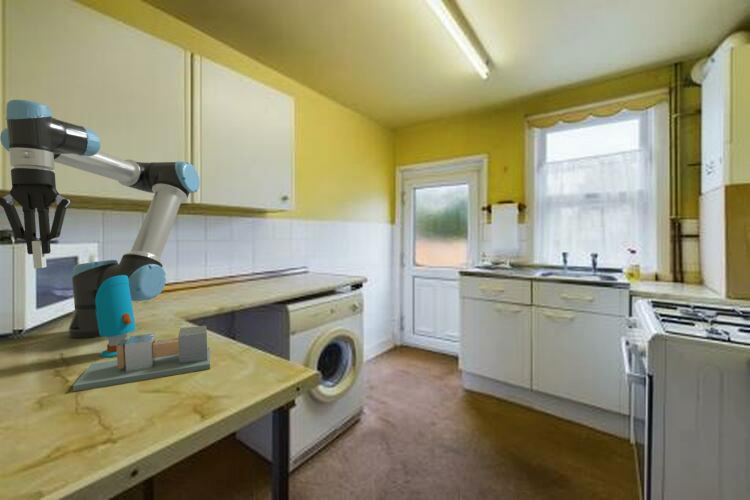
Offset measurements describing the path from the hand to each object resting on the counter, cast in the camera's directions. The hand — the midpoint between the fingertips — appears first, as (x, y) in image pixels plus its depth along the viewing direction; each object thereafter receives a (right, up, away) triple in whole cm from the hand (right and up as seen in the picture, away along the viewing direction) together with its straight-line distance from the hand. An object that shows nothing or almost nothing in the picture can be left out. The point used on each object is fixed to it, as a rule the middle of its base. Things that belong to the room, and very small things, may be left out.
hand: (40, 267), depth 84 cm
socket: (+36, -23, +3) cm, 43 cm away
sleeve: (+26, -23, -2) cm, 35 cm away
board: (+28, -24, -1) cm, 37 cm away
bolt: (+29, -22, -1) cm, 37 cm away
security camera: (+11, -24, +10) cm, 28 cm away
